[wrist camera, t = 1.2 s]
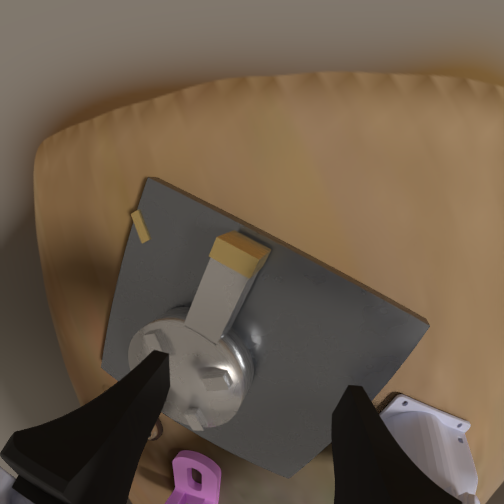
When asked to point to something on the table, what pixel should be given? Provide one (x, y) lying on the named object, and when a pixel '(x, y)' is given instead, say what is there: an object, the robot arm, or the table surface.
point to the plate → (262, 326)
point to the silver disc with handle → (207, 338)
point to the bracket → (186, 489)
